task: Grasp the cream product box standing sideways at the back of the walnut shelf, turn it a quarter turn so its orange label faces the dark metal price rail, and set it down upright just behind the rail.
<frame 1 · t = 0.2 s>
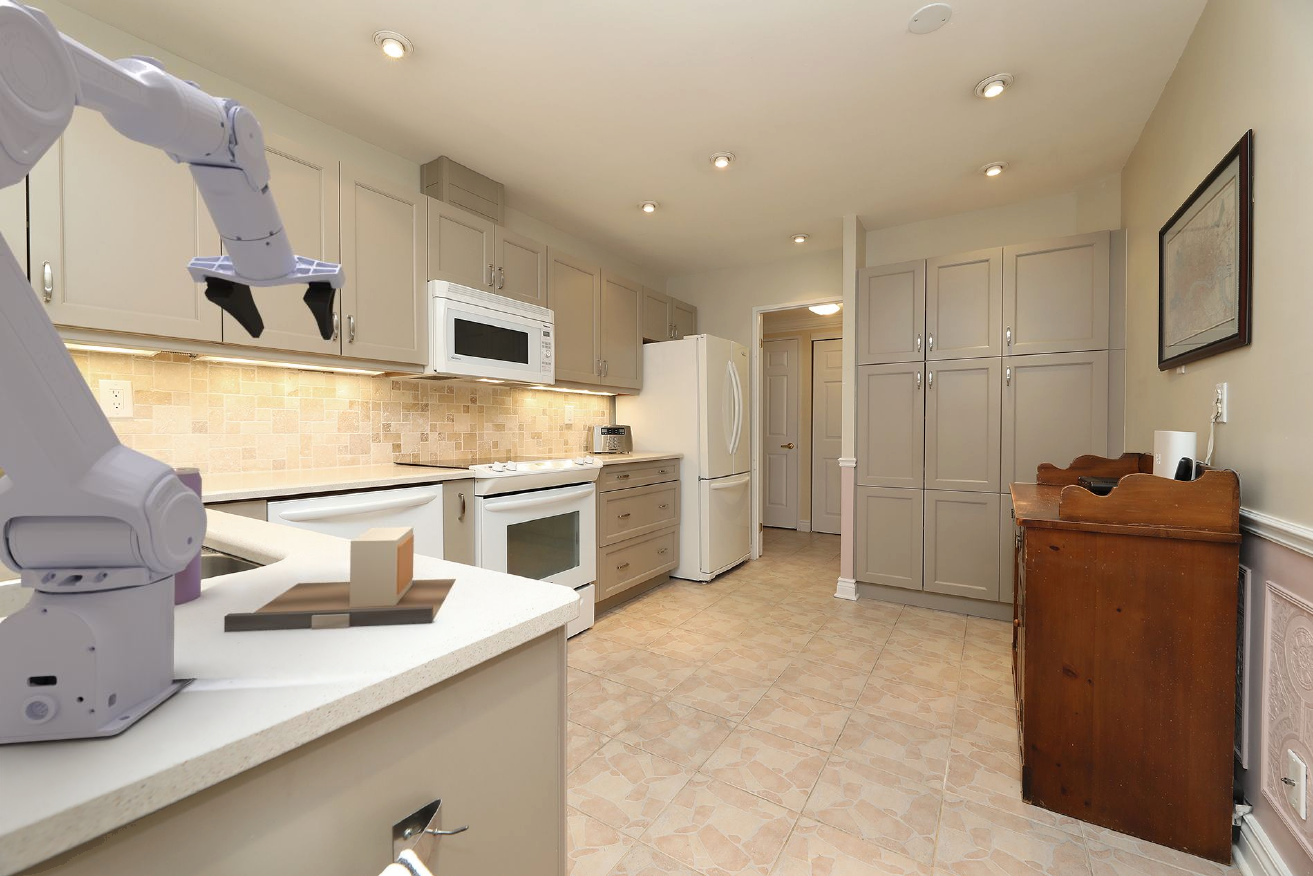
hand: (294, 333, 68), 31 cm above the worktop, tool tilted 45°, fingers open, 7 cm apart
product box: (383, 595, 64), point 1 cm above the worktop, touching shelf
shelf: (358, 610, 61), on the worktop
beverage can: (164, 610, 60), on the worktop
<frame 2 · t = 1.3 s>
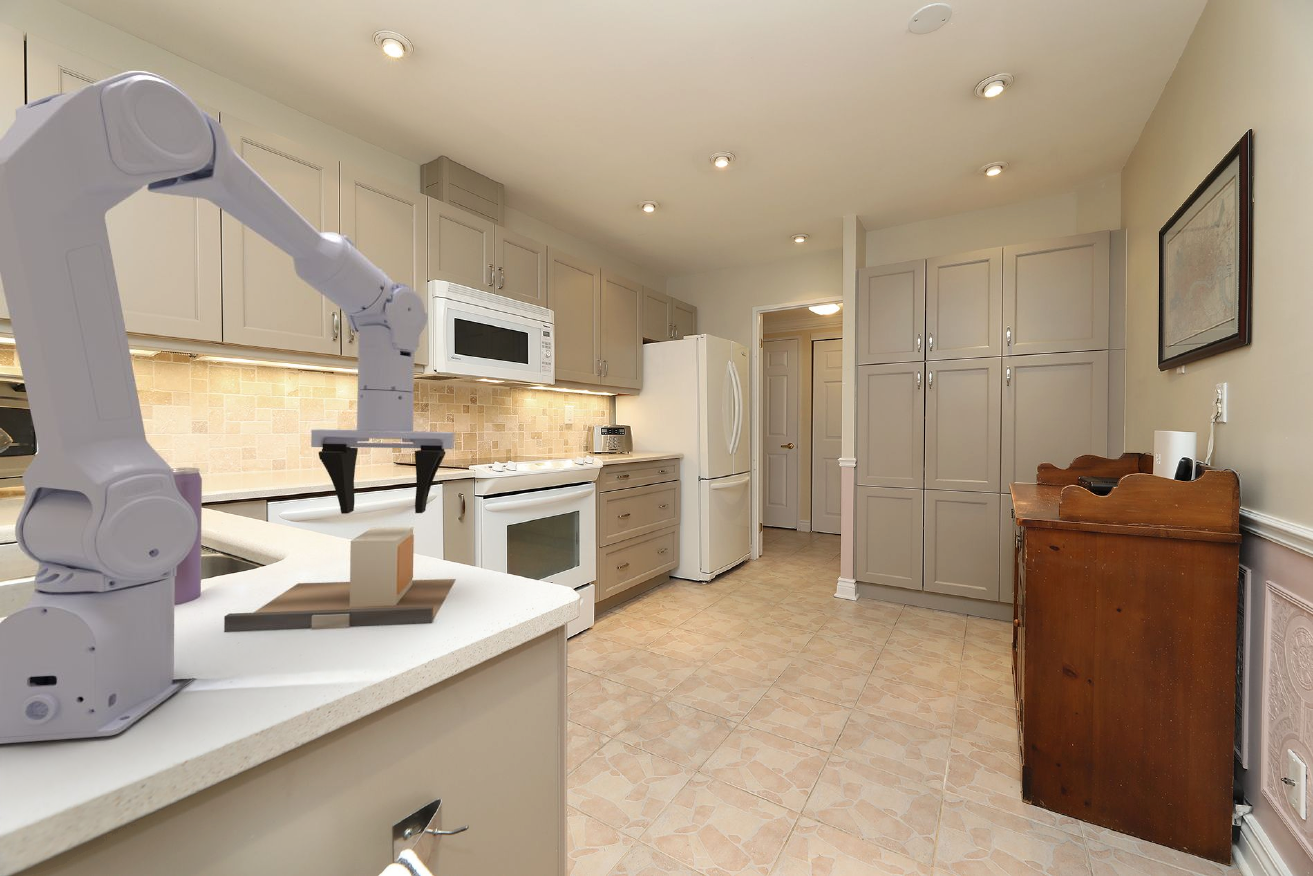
hand: (384, 512, 64), 10 cm above the worktop, tool pointing down, fingers open, 7 cm apart
nothing on the worktop moved.
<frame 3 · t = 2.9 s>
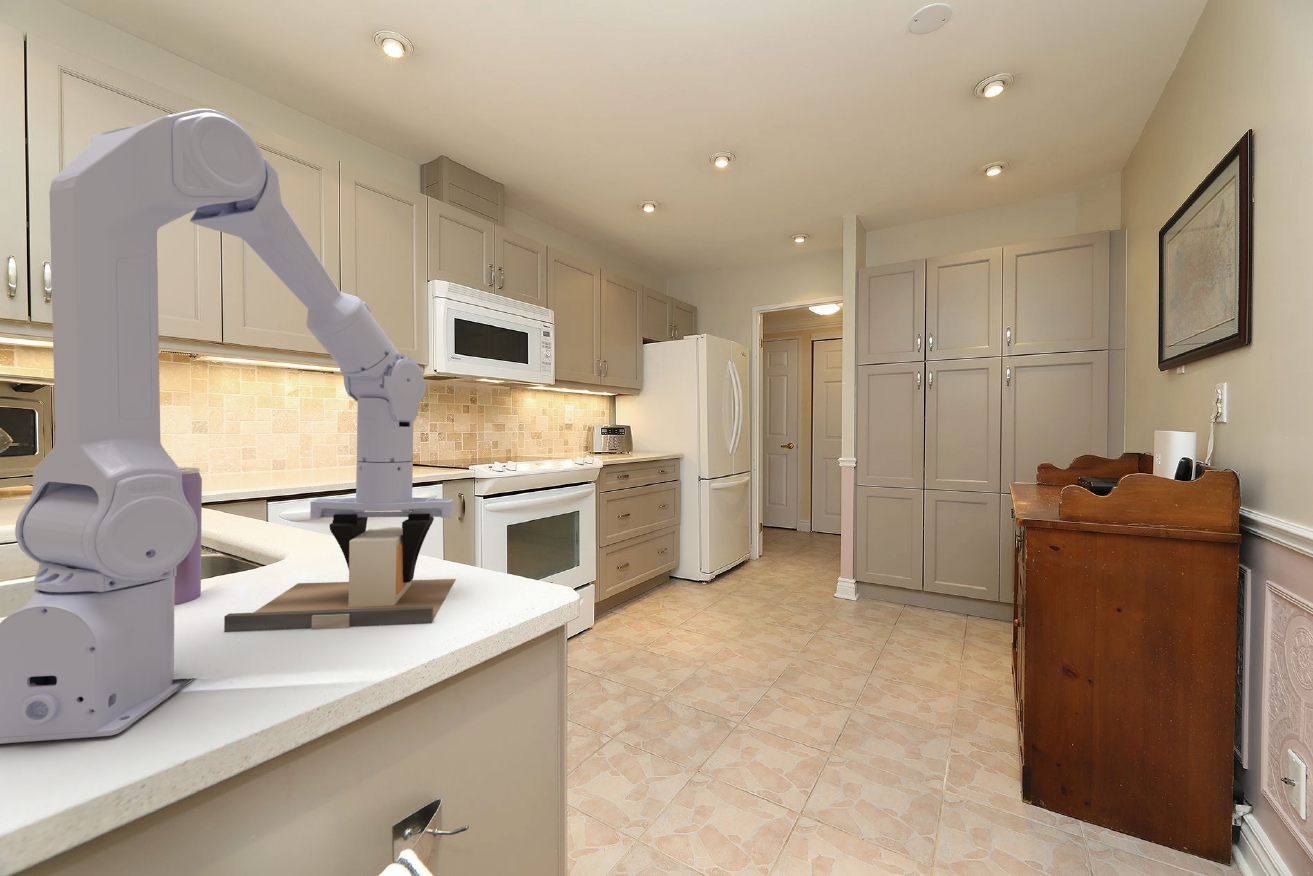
hand: (383, 581, 64), 3 cm above the worktop, tool pointing down, fingers closed on product box, 5 cm apart
product box: (382, 595, 64), point 1 cm above the worktop, touching gripper, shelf
everything else where it was.
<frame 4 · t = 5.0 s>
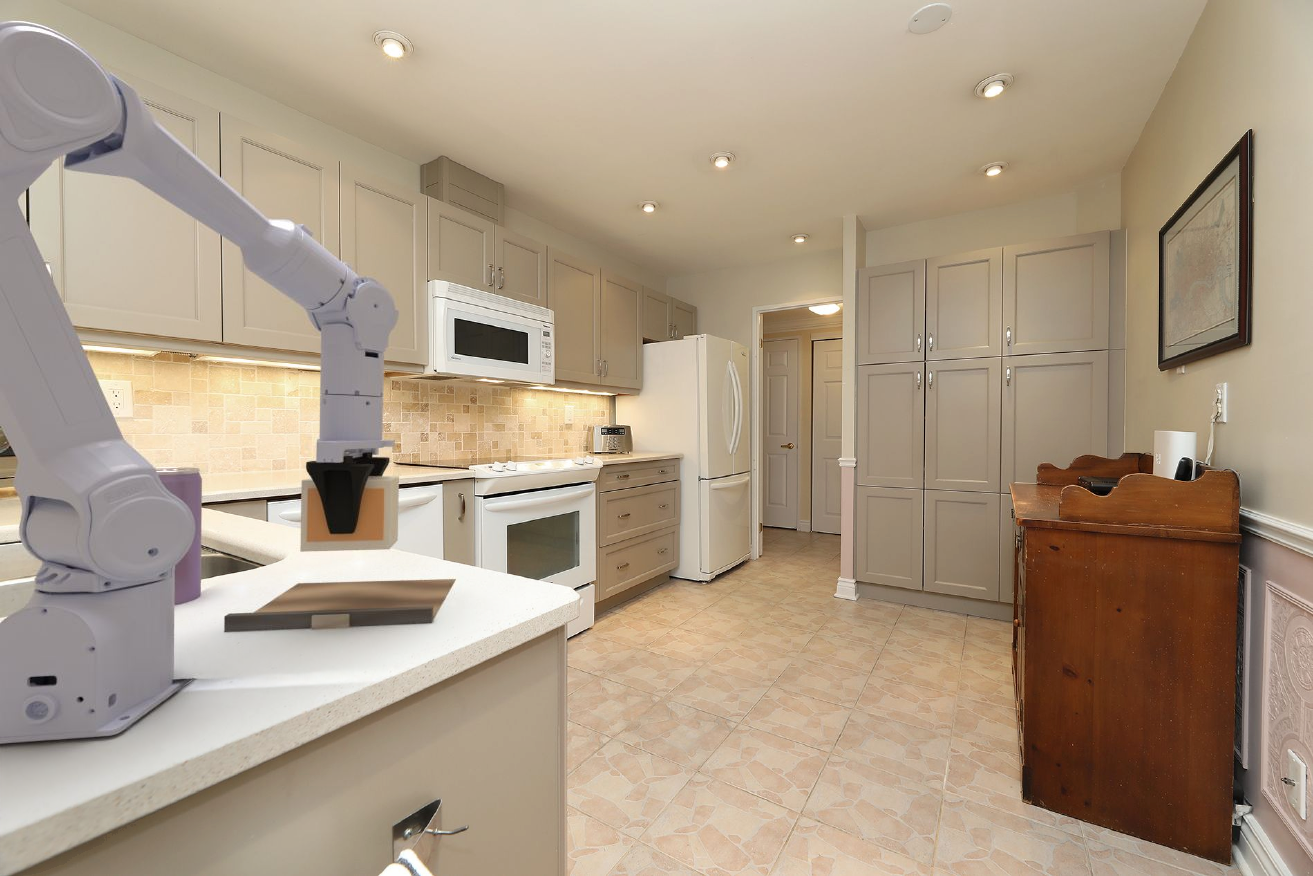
hand: (350, 528, 58), 10 cm above the worktop, tool pointing down, fingers closed on product box, 5 cm apart
product box: (351, 545, 58), point 8 cm above the worktop, touching gripper
everything else where it was.
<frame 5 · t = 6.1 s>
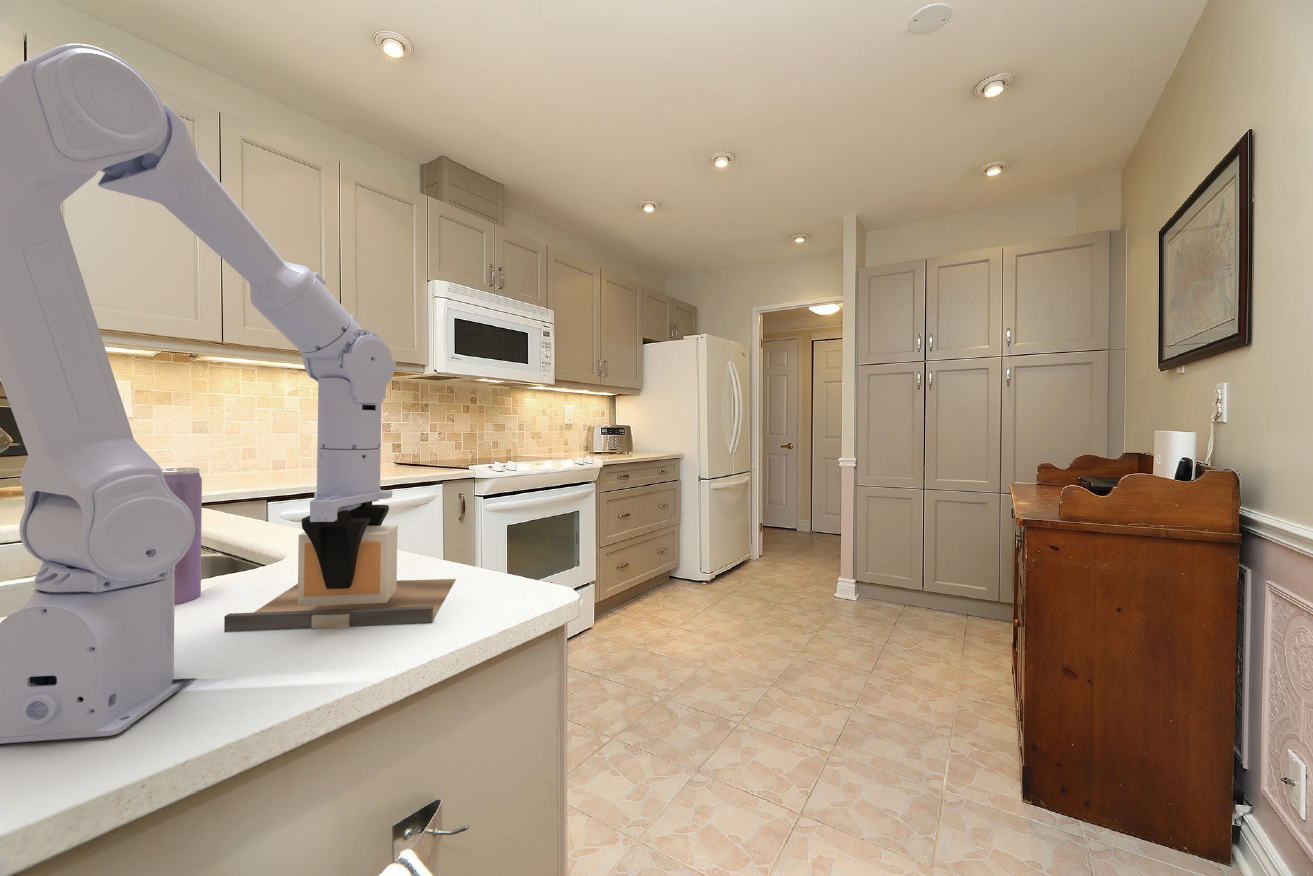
hand: (347, 580, 58), 4 cm above the worktop, tool pointing down, fingers closed on product box, 5 cm apart
product box: (349, 597, 58), point 2 cm above the worktop, touching gripper
everything else where it was.
when the fingers open (4 cm above the worktop, at t = 7.0 s): product box drops 1 cm, resting on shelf.
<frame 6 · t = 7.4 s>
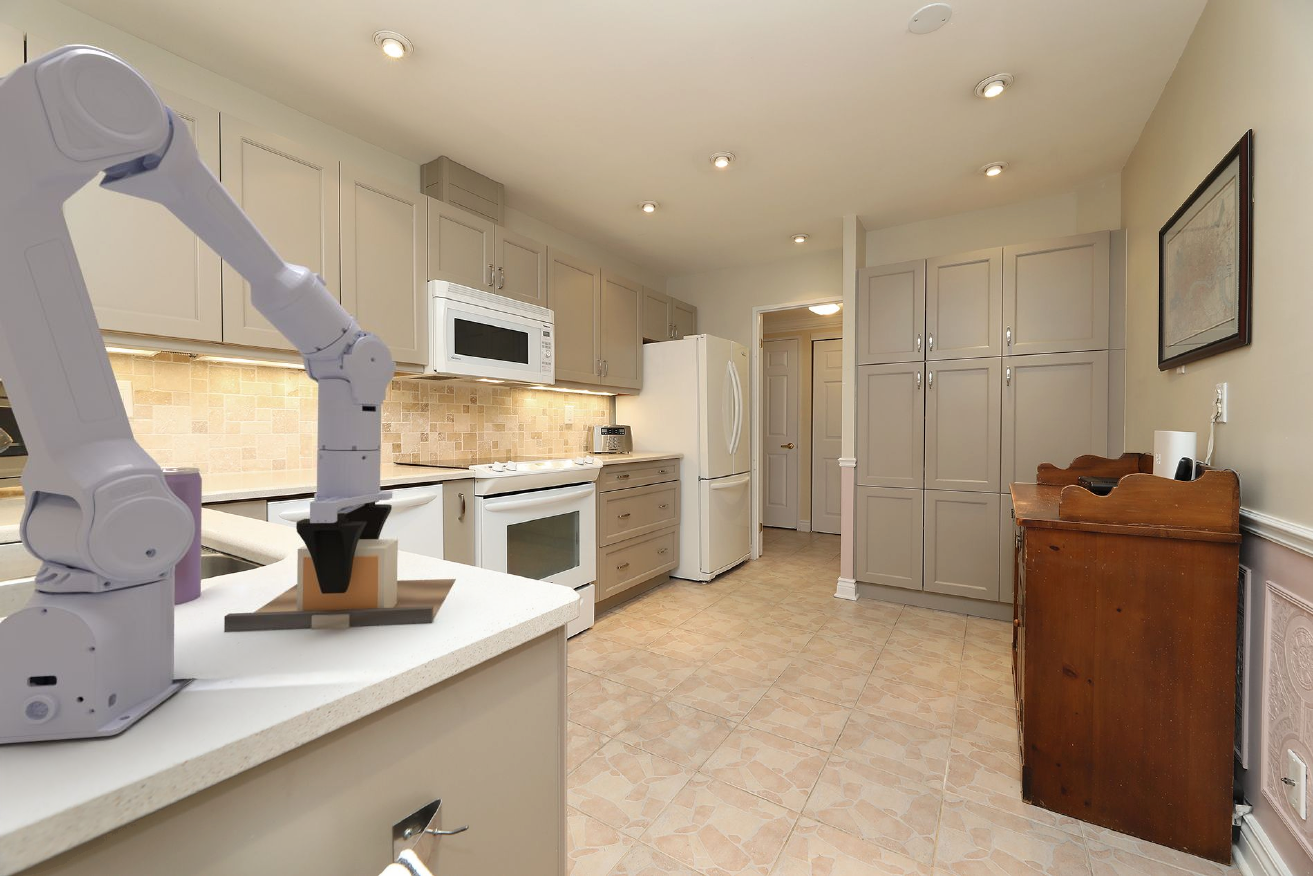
hand: (347, 581, 58), 4 cm above the worktop, tool pointing down, fingers open, 7 cm apart
product box: (349, 611, 58), point 1 cm above the worktop, touching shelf
everything else where it was.
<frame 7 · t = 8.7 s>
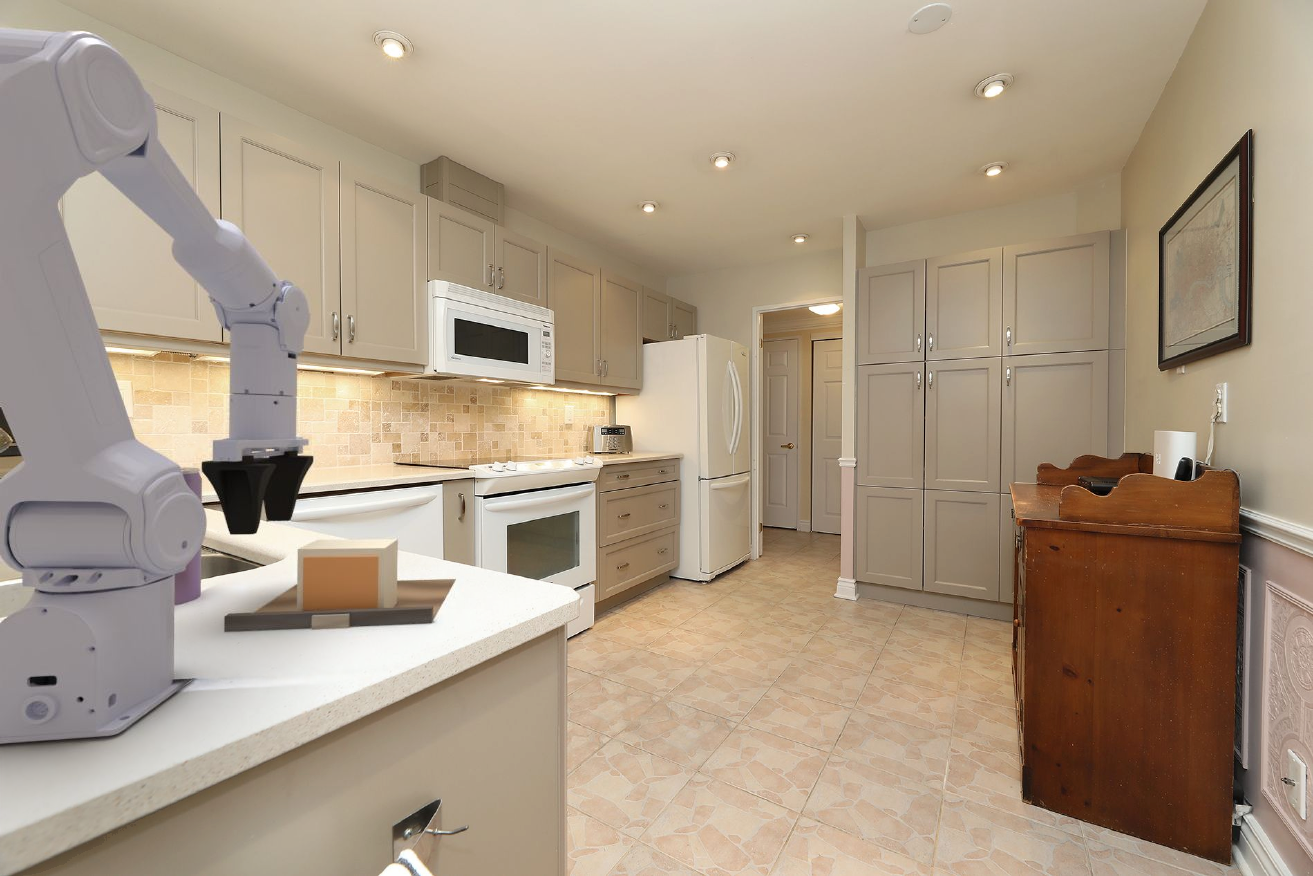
hand: (262, 526, 58), 9 cm above the worktop, tool pointing down, fingers open, 7 cm apart
nothing on the worktop moved.
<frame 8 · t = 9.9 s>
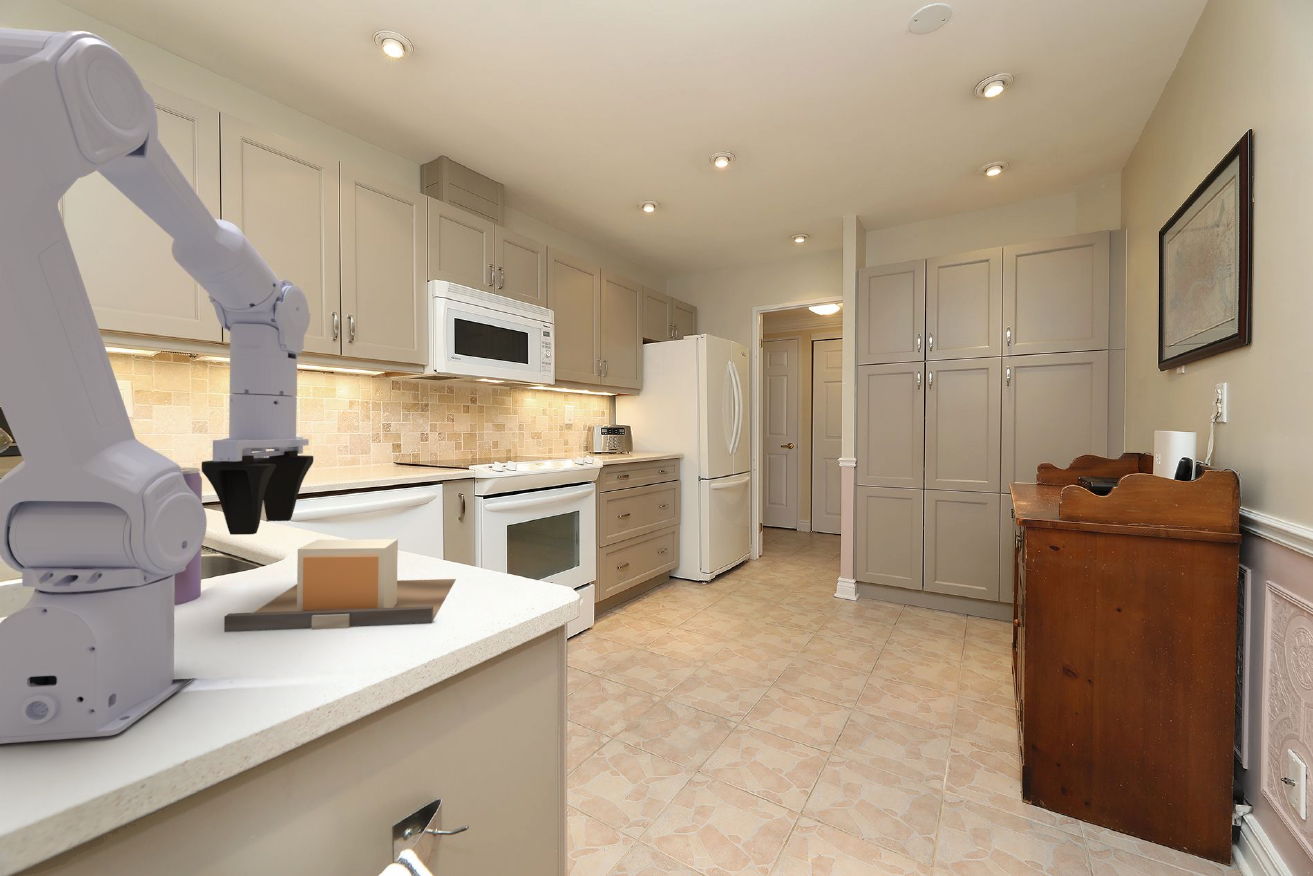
hand: (262, 526, 58), 9 cm above the worktop, tool pointing down, fingers open, 7 cm apart
nothing on the worktop moved.
at the end: product box 0.3 cm from the target spot, point 1.0 cm above the worktop; product box tilted 0°; the gripper is holding nothing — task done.
